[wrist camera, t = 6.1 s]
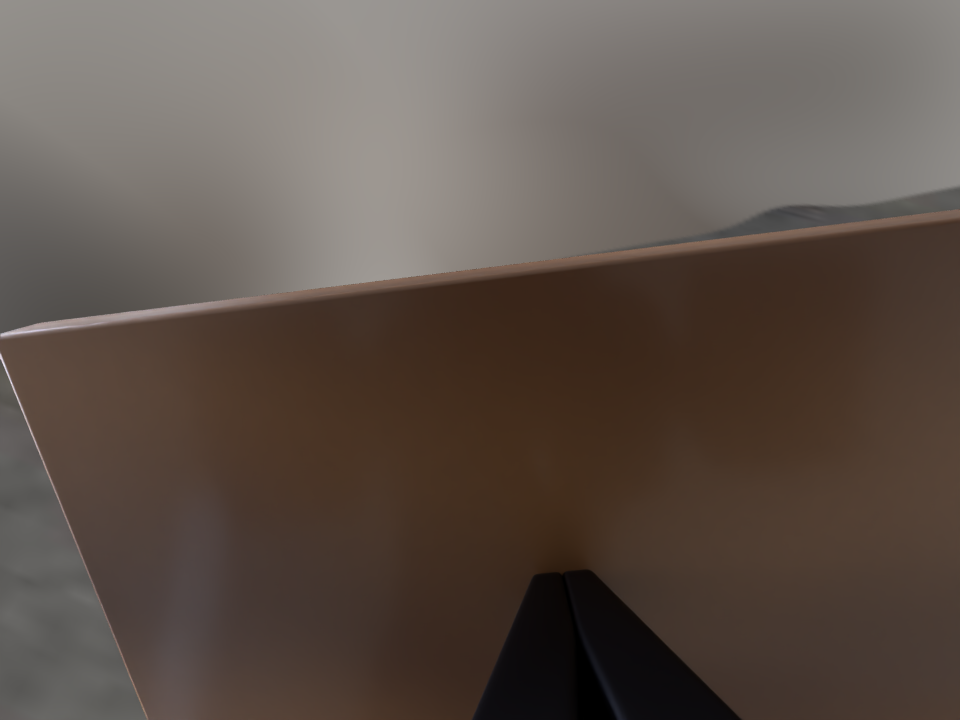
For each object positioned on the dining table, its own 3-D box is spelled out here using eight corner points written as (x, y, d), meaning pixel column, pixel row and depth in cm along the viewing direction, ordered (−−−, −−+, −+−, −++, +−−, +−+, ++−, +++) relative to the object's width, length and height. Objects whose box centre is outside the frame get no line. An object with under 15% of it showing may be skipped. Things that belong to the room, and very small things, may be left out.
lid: (40, 322, 7) (-13, 336, 7) (1047, 197, 7) (1120, 197, 6) (242, 861, 11) (223, 913, 10) (936, 809, 10) (974, 859, 9)
